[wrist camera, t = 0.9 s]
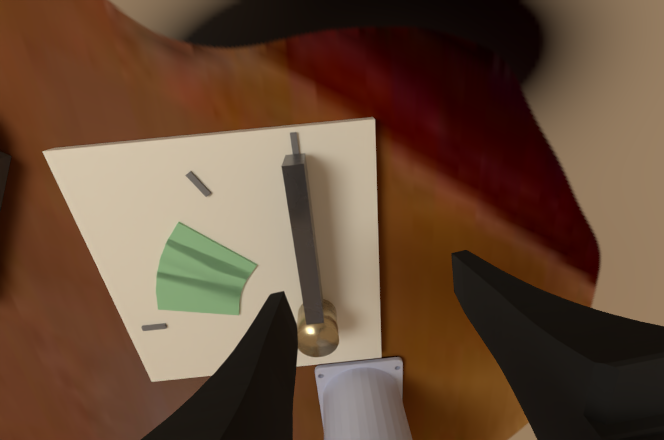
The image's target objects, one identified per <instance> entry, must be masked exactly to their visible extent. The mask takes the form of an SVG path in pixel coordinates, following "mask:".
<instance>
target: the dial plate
mask: <svg viewBox="0 0 664 440" xmlns="http://www.w3.org/2000/svg"><path fill="white" fill-rule="evenodd" d="M42 152H43V154H44V156H45V158H46V160H47V162H48V164H49V166H50V169H51V171H52V173H53V175H54V177H55V179H56V181H57V183H58V185H59V187H60V190H61V192H62V194H63V196H64V198H65V200H66V202H67V204H68V206H69V209H70V211H71V213H72V215H73V217H74V219H75V221H76V223H77V225H78V227H79V230H80V232H81V234H82V236H83V238H84V240H85V242H86V244H87V246H88V249H89V251H90V253H91V255H92V257H93V259H94V261H95V263H96V265H97V267H98V270H99V272H100V274H101V276H102V278H103V280H104V282H105V284H106V286H107V289H108V291H109V293H110V295H111V297H112V299H113V301H114V303H115V305H116V307H117V310H118V312H119V314H120V316H121V318H122V320H123V322H124V324H125V326H126V328H127V331H128V333H129V335H130V337H131V339H132V341H133V343H134V345H135V347H136V350H137V352H138V354H139V356H140V358H141V360H142V362H143V364H144V366H145V368H146V371H147V373H148V375H149V377H150V379H151V381H152V382H154V381H164V380H173V379H183V378H192V377H202V376H211V375H213V374H214V373H215V372H216V371H217V370H218V368H219V367H220V366H221V365H222V364H223V363H224V361H225V360H226V359H227V358H228V357H229V355H230V354H231V353H232V351H233V350H234V349H235V347H236V346H237V345H238V343H239V342H240V340H241V339H242V338H243V336H244V335H245V333H246V332H247V330H248V329H249V327H250V326H251V324H252V322H253V321H254V319H255V318H256V316H257V315H258V313H259V311H260V310H261V308H262V306H263V305H264V303H265V301H266V300H267V298H268V297H269V295H270V294H272V293H276V292H281V291H284V292H285V295H286V297H287V300H288V303H289V305H290V308H291V310H292V313H293V316H294V318H295V321H296V323H297V318H298V310H299V308H300V306H301V305H302V304H303V300H302V294H301V287H300V281H299V275H298V268H297V262H296V256H295V249H294V243H293V237H292V230H291V224H290V217H289V211H288V205H287V198H286V192H285V186H284V179H283V173H282V167H281V166H282V163H283V161H284V158H285V155H291V154H302V153H305V155H306V163H307V171H308V179H309V188H310V196H311V204H312V212H313V220H314V228H315V237H316V245H317V253H318V261H319V269H320V277H321V286H322V294H323V299H325V300H328V301H330V302H331V303H332V304H333V305H334V306H335V308H336V312H337V323H338V333H339V344H338V347H337V348H336V350H335V351H334V352H332V353H331V354H329V355H327V356H323V357H310V356H307V355H305V354H303V353H302V352H300V351H299V349H298V354H297V365H296V367H297V366H306V365H316V364H325V363H335V362H344V361H354V360H363V359H373V358H382V355H381V318H380V282H379V245H378V209H377V172H376V136H375V119H374V118H373V117H369V118H359V119H349V120H338V121H328V122H318V123H307V124H297V125H287V126H276V127H266V128H256V129H245V130H235V131H225V132H214V133H204V134H194V135H183V136H173V137H163V138H152V139H142V140H132V141H121V142H111V143H101V144H90V145H80V146H70V147H59V148H53V149H49V150H46V151H42Z"/></svg>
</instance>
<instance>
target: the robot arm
mask: <svg viewBox="0 0 664 440" xmlns="http://www.w3.org/2000/svg"><path fill="white" fill-rule="evenodd" d="M451 254H452V268H453V281H454V292H455V294H456V296H457V298H458V300H459V302H460V304H461V306H462V308H463V310H464V312H465V314H466V315H467V317H468V319H469V320H470V322H471V323H472V325H473V326H474V328H475V329H476V331H477V332H478V334H479V335H480V337H481V338H482V340H483V341H484V343H485V344H486V346H487V347H488V349H489V350H490V352H491V353H492V355H493V356H494V358H495V359H496V361H497V363H498V364H499V366H500V368H501V369H502V371H503V373H504V375H505V377H506V379H507V380H508V382H509V384H510V386H511V388H512V390H513V392H514V394H515V396H516V398H517V399H518V401H519V403H520V405H521V407H522V409H523V411H524V413H525V415H526V417H527V419H528V421H529V423H530V425H531V427H532V429H533V431H534V433H535V436H536V438H537V440H664V326H659V325H655V324H650V323H645V322H640V321H636V320H632V319H628V318H624V317H621V316H617V315H613V314H609V313H606V312H602V311H599V310H596V309H593V308H590V307H587V306H583V305H580V304H577V303H574V302H572V301H569V300H566V299H563V298H561V297H558V296H556V295H553V294H551V293H548V292H546V291H543V290H541V289H539V288H536V287H534V286H532V285H530V284H528V283H526V282H524V281H522V280H519V279H517V278H515V277H514V276H512V275H510V274H508V273H506V272H504V271H502V270H500V269H499V268H497V267H495V266H493V265H491V264H490V263H488V262H486V261H484V260H483V259H481V258H479V257H478V256H476V255H474V254H472V253H471V252H469V251H467V250H464V251H459V252H455V253H451ZM297 354H298V330H297V323H296V321H295V318H294V316H293V313H292V310H291V308H290V305H289V303H288V300H287V297H286V295H285V292H284V291H281V292H276V293H272V294H270V295H269V297H268V298H267V300H266V301H265V303H264V305H263V306H262V308H261V310H260V311H259V313H258V315H257V316H256V318H255V319H254V321H253V322H252V324H251V326H250V327H249V329H248V330H247V332H246V333H245V335H244V336H243V338H242V339H241V340H240V342H239V343H238V345H237V346H236V347H235V349H234V350H233V351H232V353H231V354H230V355H229V357H228V358H227V359H226V360H225V361H224V363H223V364H222V365H221V366H220V367H219V368H218V370H217V371H216V372H215V373H214V374H213V375H212V376H211V377H210V378H209V379H208V380H207V381H206V382H205V383H204V385H203V386H202V387H201V388H200V389H199V390H198V391H197V392H196V393H195V394H194V395H193V396H192V397H191V398H190V399H188V400H187V401H186V402H185V403H184V404H183V405H182V406H181V407H180V408H179V409H177V410H176V411H175V412H174V413H173V414H172V415H171V416H169V417H168V418H167V419H166V420H165V421H164V422H162V423H161V424H160V425H159V426H157V427H156V428H155V429H154V430H152V431H151V432H150V433H149V434H147V435H146V436H145V437H143V438H142V439H141V440H293V417H292V413H293V396H294V386H295V376H296V365H297ZM396 366H397V367H396ZM315 376H316V383H317V389H318V396H319V402H320V408H321V415H322V421H323V428H324V440H412V436H411V432H410V429H409V425H408V421H407V418H406V414H405V410H404V406H403V403H402V394H403V362H402V359H401V358H400V357H392V358H382V359H373V360H363V361H354V362H344V363H335V364H325V365H318V366H316V368H315Z"/></svg>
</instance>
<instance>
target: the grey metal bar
mask: <svg viewBox="0 0 664 440" xmlns="http://www.w3.org/2000/svg"><path fill="white" fill-rule="evenodd" d="M281 167H282V173H283V179H284V186H285V192H286V198H287V205H288V211H289V217H290V224H291V230H292V237H293V243H294V249H295V256H296V262H297V268H298V275H299V281H300V287H301V294H302V300H303V304H302V305H301V306H300V308H299V310H298V318H297V330H298V349H299V351H300V352H302V353H303V354H305V355H307V356H310V357H323V356H327V355H329V354H331V353H332V352H334V351H335V350H336V348H337V347H338V344H339V333H338V323H337V312H336V308H335V306H334V305H333V304H332V303H331V302H330V301H328V300H325V299H323V294H322V286H321V277H320V269H319V261H318V253H317V245H316V237H315V228H314V220H313V212H312V204H311V196H310V188H309V179H308V171H307V163H306V155H305V153H302V154H291V155H285V158H284V161H283V163H282V166H281Z"/></svg>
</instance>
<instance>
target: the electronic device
mask: <svg viewBox="0 0 664 440" xmlns="http://www.w3.org/2000/svg"><path fill="white" fill-rule="evenodd" d="M10 161H11V156H10V155H8V154H6V153H3V152H1V151H0V210H1V205H2V200H3V196H4V191H5V186H6V181H7V176H8V171H9V166H10Z"/></svg>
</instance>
